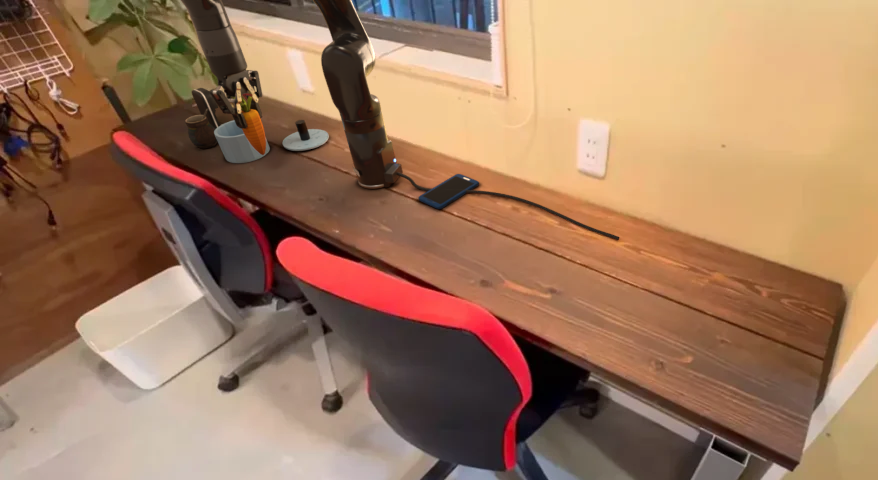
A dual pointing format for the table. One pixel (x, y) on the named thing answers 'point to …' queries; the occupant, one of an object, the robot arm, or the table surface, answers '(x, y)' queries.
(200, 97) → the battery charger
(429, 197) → the cell phone
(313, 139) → the lid
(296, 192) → the table surface
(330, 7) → the robot arm
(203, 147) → the mate gourd
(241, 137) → the pot
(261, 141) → the carrot
